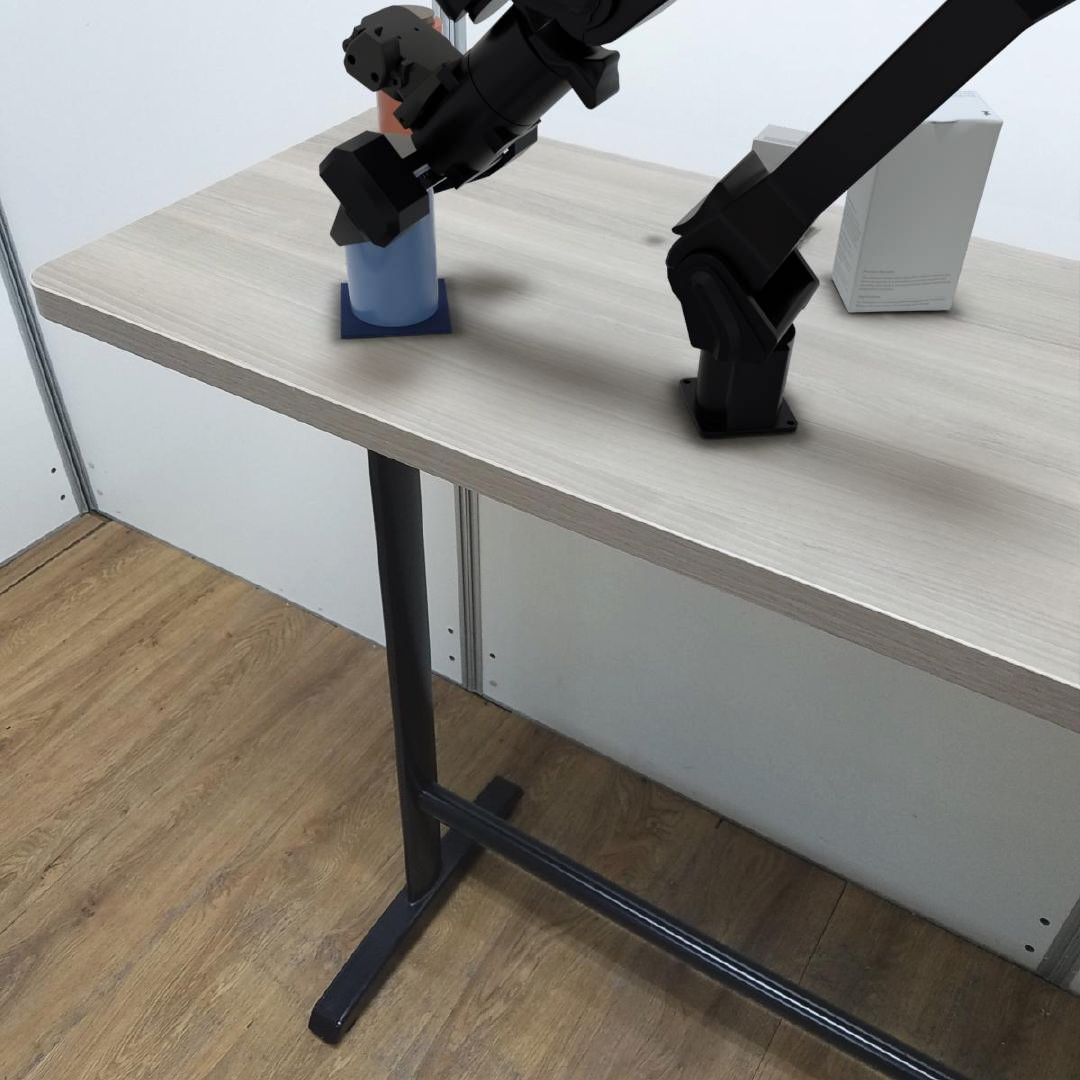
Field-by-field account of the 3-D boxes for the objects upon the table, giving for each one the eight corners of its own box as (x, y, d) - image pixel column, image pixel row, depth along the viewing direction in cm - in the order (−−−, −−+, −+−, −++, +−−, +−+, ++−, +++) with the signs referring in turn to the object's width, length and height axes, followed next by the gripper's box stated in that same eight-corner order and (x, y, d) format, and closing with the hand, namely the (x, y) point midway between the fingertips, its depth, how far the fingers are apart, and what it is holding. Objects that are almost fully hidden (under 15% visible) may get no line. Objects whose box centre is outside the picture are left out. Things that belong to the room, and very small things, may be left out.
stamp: (751, 205, 97) (766, 109, 91) (822, 223, 94) (842, 125, 89) (709, 242, 91) (722, 142, 85) (783, 262, 88) (802, 160, 83)
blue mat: (452, 332, 79) (451, 329, 79) (341, 338, 78) (340, 335, 78) (444, 281, 85) (444, 277, 85) (341, 286, 84) (340, 282, 84)
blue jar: (456, 310, 81) (450, 151, 73) (379, 336, 78) (364, 173, 70) (409, 276, 85) (398, 121, 77) (334, 300, 82) (315, 141, 74)
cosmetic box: (927, 278, 87) (980, 87, 77) (952, 315, 82) (1011, 117, 72) (824, 278, 86) (864, 86, 77) (843, 316, 82) (887, 116, 72)
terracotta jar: (449, 155, 104) (444, 22, 96) (380, 157, 104) (370, 23, 96) (445, 130, 109) (439, 1, 101) (379, 132, 108) (369, 3, 101)
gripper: (499, -62, 71) (374, 83, 82) (327, 6, 58) (206, 166, 69) (601, 83, 73) (466, 205, 84) (456, 178, 61) (320, 307, 72)
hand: (371, 216), depth 77 cm, fingers open, 8 cm apart
